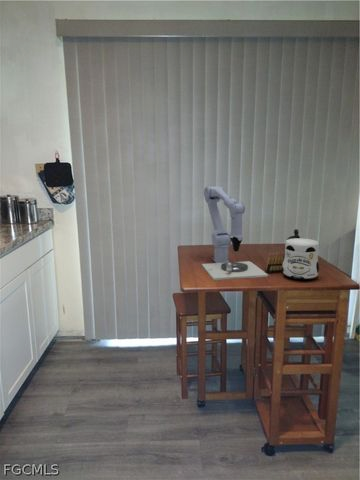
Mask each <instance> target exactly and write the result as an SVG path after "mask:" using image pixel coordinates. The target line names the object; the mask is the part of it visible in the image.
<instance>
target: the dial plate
mask: <svg viewBox="0 0 360 480" xmlns="http://www.w3.org/2000/svg"><path fill="white" fill-rule="evenodd" d="M238 262H239V263H244V264H246V265H248V270H246V271H243V272H228V271H224V270H222V269H221V265H222V264H224V263H216V262H213V263H201V266H202V268H203V269H204V271H205V272H206V273H207V274H208V275H209V277H210V278H211V279H212V281H219V280H222V281H223V280H225V281H226V280H236V279H254V278H267V277H269V273H266V271H265V270H263V269H261V267H258V265H256V264H254V263H253V262H252V261H251V260H250V261H247V260H245V261H238Z"/></svg>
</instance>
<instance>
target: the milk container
mask: <svg viewBox="0 0 360 480" xmlns="http://www.w3.org/2000/svg"><path fill="white" fill-rule="evenodd" d="M287 239H288V238H287ZM287 239H286V240H285V242H286V243H284V253H285V254H284V261H283V265H282V269H283V272H282V273H283V274H284V275H285V277H287V278H291V279H294V280H301V281H303V280H312V279H315V278H317V277H318V275H319V272H320V265H319V264H320V263H319V249H320V248H319V247H320V246H319V245H320V244H319V241H317V240H315V239H311V238H301V237H300V238H294V239H288V240H287Z"/></svg>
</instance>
